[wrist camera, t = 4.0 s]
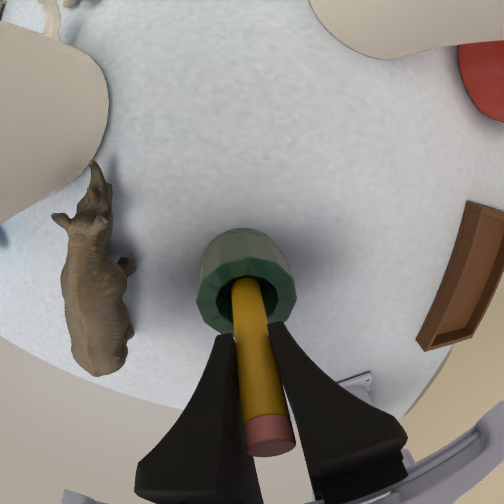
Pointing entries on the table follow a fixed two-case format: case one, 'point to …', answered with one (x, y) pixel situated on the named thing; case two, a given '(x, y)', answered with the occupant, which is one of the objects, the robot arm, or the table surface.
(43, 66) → the mug
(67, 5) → the molecular model
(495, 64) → the flower pot
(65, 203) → the table surface
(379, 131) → the table surface
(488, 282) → the tray
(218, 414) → the robot arm
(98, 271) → the rhino figurine
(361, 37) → the cup
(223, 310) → the pencil pot
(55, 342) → the table surface
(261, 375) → the pencil
